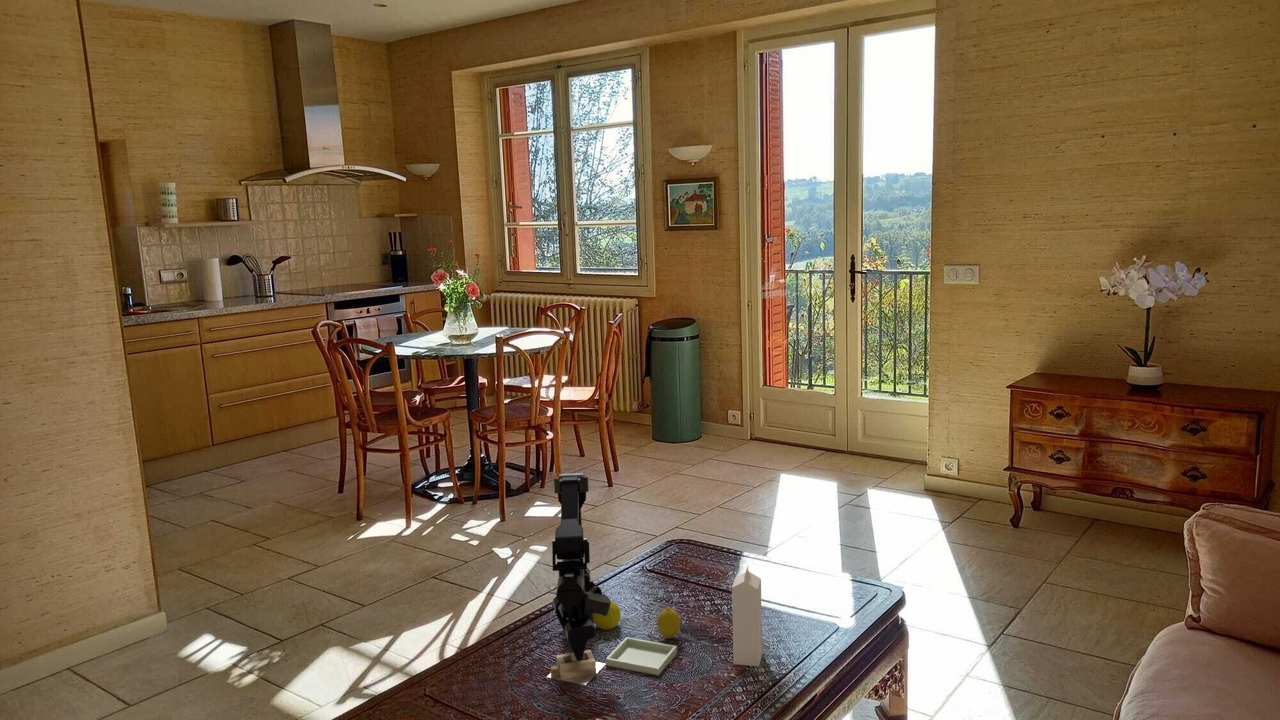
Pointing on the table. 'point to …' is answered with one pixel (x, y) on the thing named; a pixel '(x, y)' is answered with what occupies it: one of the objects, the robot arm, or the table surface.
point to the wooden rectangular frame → (574, 665)
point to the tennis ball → (608, 617)
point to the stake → (579, 679)
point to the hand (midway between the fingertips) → (575, 650)
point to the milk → (747, 619)
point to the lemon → (668, 623)
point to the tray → (642, 656)
